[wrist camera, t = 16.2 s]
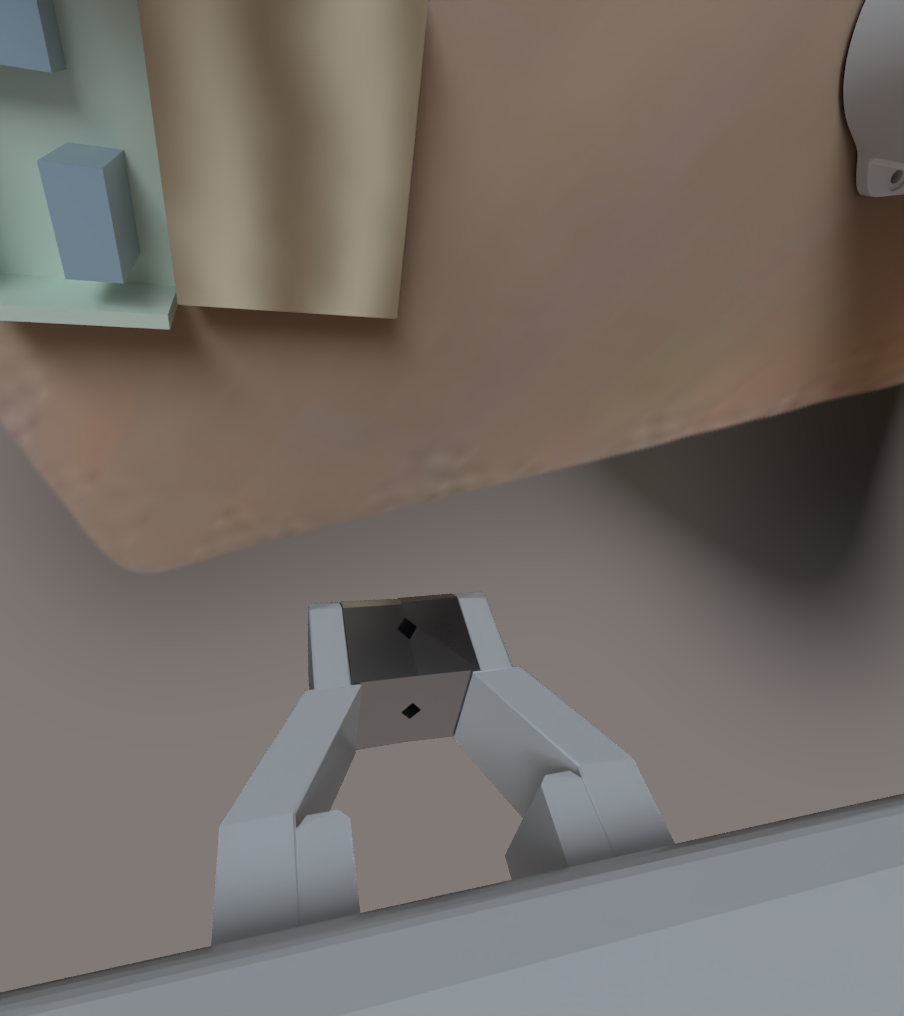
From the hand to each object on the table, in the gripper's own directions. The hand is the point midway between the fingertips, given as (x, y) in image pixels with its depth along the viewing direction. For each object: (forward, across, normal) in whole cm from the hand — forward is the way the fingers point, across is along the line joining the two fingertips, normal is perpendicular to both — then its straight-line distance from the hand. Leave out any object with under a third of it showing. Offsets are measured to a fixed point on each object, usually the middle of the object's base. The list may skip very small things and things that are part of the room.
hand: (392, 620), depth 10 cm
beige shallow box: (+31, +1, -3) cm, 31 cm away
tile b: (+28, +9, +1) cm, 29 cm away
